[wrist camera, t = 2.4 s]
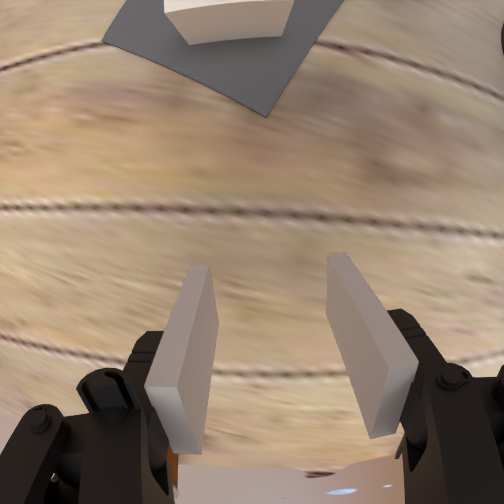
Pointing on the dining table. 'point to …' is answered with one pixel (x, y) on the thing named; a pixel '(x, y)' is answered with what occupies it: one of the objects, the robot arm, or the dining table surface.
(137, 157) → the dining table surface
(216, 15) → the board
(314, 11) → the mat
